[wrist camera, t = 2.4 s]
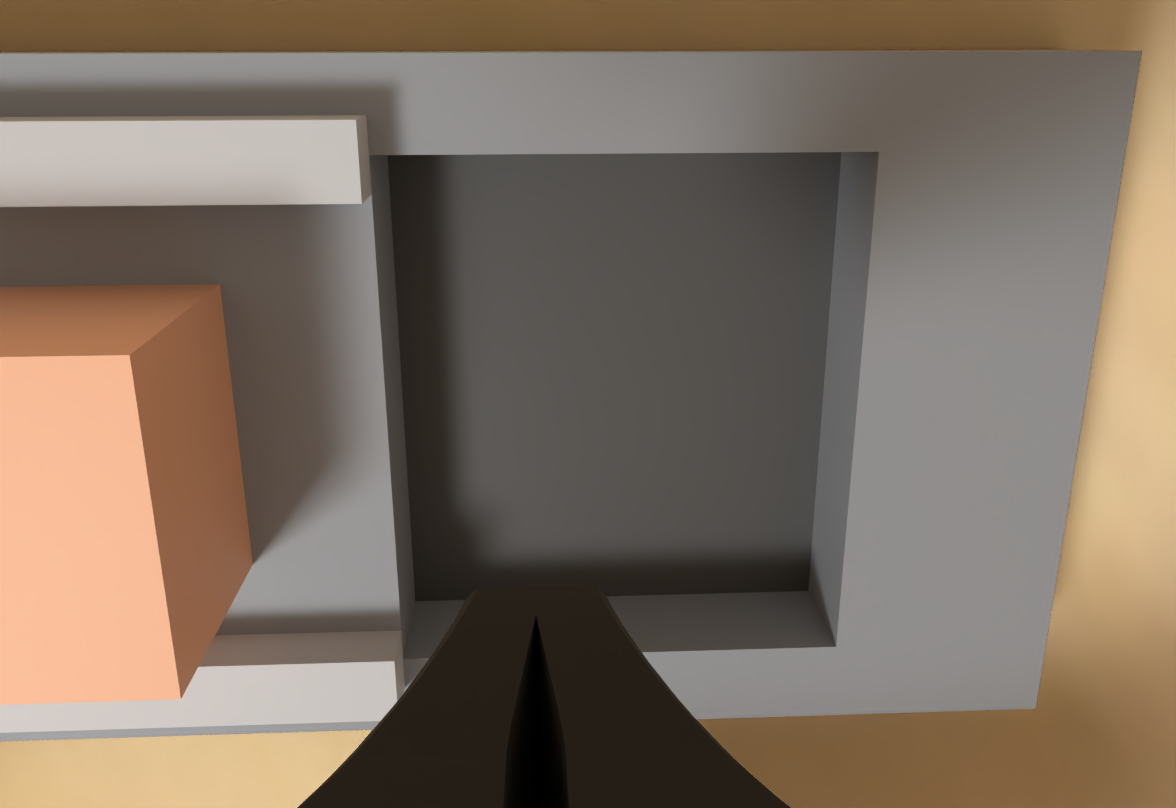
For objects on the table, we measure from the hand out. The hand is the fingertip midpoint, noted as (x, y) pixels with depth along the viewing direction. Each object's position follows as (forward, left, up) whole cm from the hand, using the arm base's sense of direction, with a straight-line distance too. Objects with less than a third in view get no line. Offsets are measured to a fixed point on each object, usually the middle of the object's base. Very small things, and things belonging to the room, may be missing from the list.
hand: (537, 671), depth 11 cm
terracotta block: (0, +7, -7) cm, 11 cm away
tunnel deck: (0, +5, -10) cm, 11 cm away
